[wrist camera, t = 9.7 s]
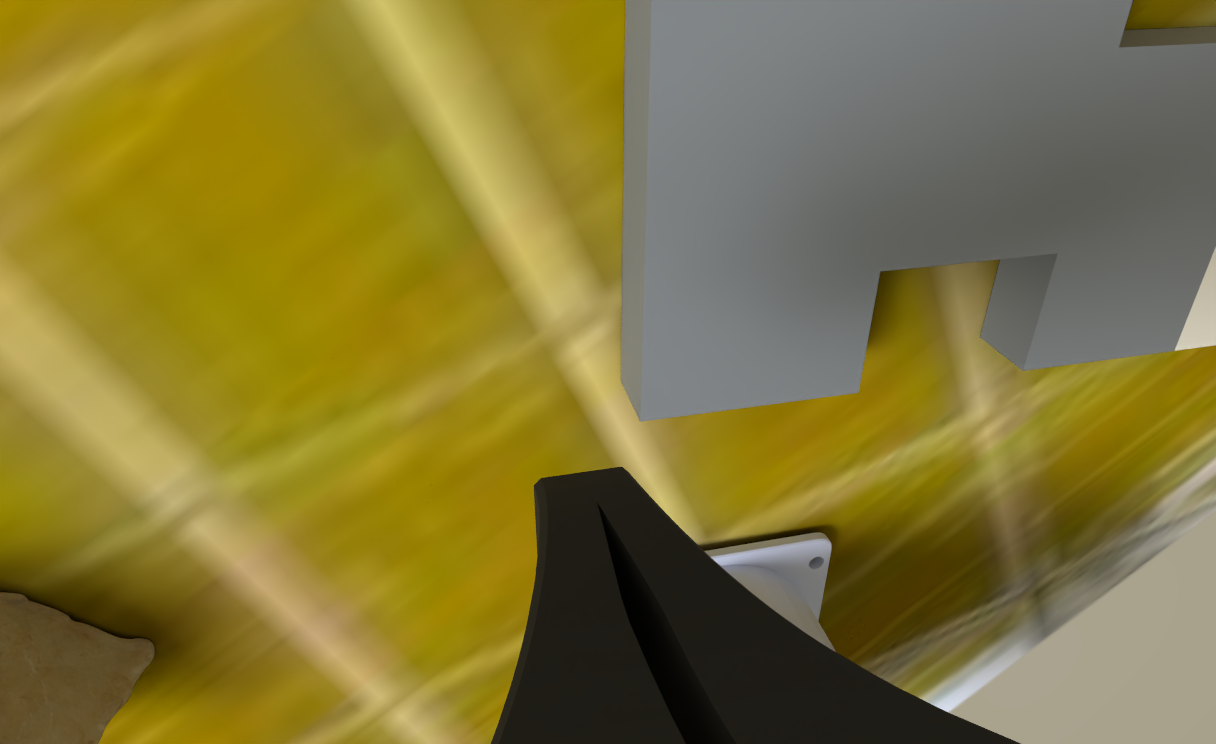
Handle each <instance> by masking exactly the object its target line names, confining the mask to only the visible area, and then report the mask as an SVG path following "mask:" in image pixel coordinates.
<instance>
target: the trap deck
mask: <svg viewBox="0 0 1216 744" xmlns="http://www.w3.org/2000/svg"><path fill="white" fill-rule="evenodd" d="M1132 1H1133V0H626V9H625V90H624V171H623V252H622V333H621V382H622V384H623V386H624V389H625V391H626V393H627V395H628V397H629V399H630V401H631V403H632V405H633V407H634V409H635V412H636V414H637V416H638V418H639V420H640V422H641V421H648V420H656V419H663V418H671V417H679V416H686V415H694V414H701V413H709V412H716V411H724V410H731V409H739V408H746V407H754V406H761V405H769V404H777V403H784V402H792V401H799V400H807V399H814V398H822V397H829V396H837V395H844V394H852V393H858V392H859V386H860V381H861V375H862V370H863V365H864V359H865V354H866V348H867V343H868V337H869V332H870V326H871V321H872V315H873V310H874V304H875V299H876V293H877V288H878V282H879V277H880V272H881V271H891V270H901V269H910V268H920V267H930V266H940V265H950V264H959V263H969V262H979V261H989V260H999V259H1000V262H999V266H998V270H997V274H996V278H995V282H994V285H993V289H992V293H991V297H990V301H989V305H988V309H987V312H986V316H985V320H984V324H983V328H982V332H981V336H980V338H982V339H983V340H984V341H986V342H987V343H988V344H989V345H991V346H992V347H993V348H995V349H996V350H997V351H998V352H1000V353H1001V354H1002V355H1004V356H1005V357H1006V358H1007V359H1009V360H1010V361H1011V362H1013V363H1014V364H1015V365H1016V366H1018V367H1019V368H1020V369H1021V370H1023V371H1025V370H1033V369H1040V368H1048V367H1055V366H1063V365H1070V364H1078V363H1085V362H1093V361H1101V360H1108V359H1116V358H1123V357H1131V356H1138V355H1146V354H1153V353H1161V352H1168V351H1176V350H1183V349H1191V348H1199V347H1206V346H1214V345H1216V26H1210V27H1186V28H1163V29H1139V30H1124V28H1125V25H1126V22H1127V18H1128V15H1129V11H1130V8H1131V5H1132Z"/></svg>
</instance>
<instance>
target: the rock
mask: <svg viewBox="0 0 1216 744" xmlns="http://www.w3.org/2000/svg"><path fill="white" fill-rule="evenodd" d="M154 653H155V649H154V645H153V643H152V642H151V641H150V640H149V639H143V638H136V639H125V638H119V637H116V636H113V635H111V634H108V633H106V632H104V631H102V630H100V629H98V628H95V627H93V626H90V625H88V624H85V623H80V622H76V621H73V620H71V619H70V617H69V616H68V615H66V614H64V613H62V612H60V611H58V610H56V609H53V608H50V607H47V606H45V605H42V604H39V603H35V602H32V601H29V600H28V599H27V598H26V597H25V596H24V595H22V594H17V593H6V592H0V744H98V743H99V741H100V739H101V736H102V734H103V732H104V729H105V727H106V726H107V724H108V723H109V721H110V720H111V719H112V718H113V716H114V715H115V714H116V713H117V712H118V711H119V710H120V709H121V707H122V706H123V705H124V704H125V703H126V702H127V701H128V699H129V697H130V695H131V694H132V691H133V688H134V685H135V682H136V681H137V680H138V678H139V677H140V675H141V674H142V672H143V671H144V669H145V668H146V667H147V666H148V665H149V664H150V663H151V661H152V659H153V658H154Z"/></svg>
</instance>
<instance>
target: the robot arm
mask: <svg viewBox="0 0 1216 744" xmlns="http://www.w3.org/2000/svg"><path fill="white" fill-rule="evenodd" d="M534 498H535V517H536V535H537V554H538V558H537V567H536V577H535V584H534V590H533V595H532V600H531V605H530V611H529V616H528V621H527V626H526V631H525V635H524V639H523V643H522V647H521V651H520V655H519V659H518V662H517V666H516V669H515V673H514V677H513V680H512V683H511V687H510V690H509V693H508V696H507V699H506V702H505V705H504V708H503V711H502V714H501V717H500V720H499V723H498V726H497V728H496V731H495V734H494V737H493V739H492V742H491V744H1020V743H1018V742H1016V741H1013V740H1011V739H1009V738H1006V737H1004V736H1002V735H999V734H997V733H994V732H992V731H990V730H987V729H985V728H983V727H981V726H978V725H976V724H974V723H971V722H969V721H966V720H964V719H962V718H959V717H957V716H955V715H952V714H950V713H948V712H946V711H944V710H942V709H940V708H937V707H935V706H933V705H931V704H929V703H927V702H925V701H924V700H922V699H920V698H918V697H916V696H914V695H912V694H910V693H908V692H906V691H904V690H902V689H900V688H898V687H896V686H894V685H892V684H890V683H888V682H887V681H885V680H883V679H881V678H879V677H877V676H876V675H874V674H872V673H870V672H869V671H867V670H865V669H864V668H862V667H860V666H858V665H857V664H855V663H853V662H852V661H850V660H848V659H847V658H845V657H843V656H842V655H840V654H838V653H837V652H836V651H835V649H834V647H833V646H832V644H831V642H830V640H829V639H828V637H827V635H826V634H825V632H824V630H823V629H822V627H821V625H820V623H819V622H818V621H819V615H820V610H821V604H822V599H823V594H824V588H825V583H826V577H827V572H828V566H829V561H830V556H831V550H832V543H831V542H830V541H829V539H828V538H827V536H826V535H825V534H823V533H810V534H804V535H798V536H792V537H786V538H780V539H774V540H768V541H762V542H756V543H750V544H744V545H738V546H732V547H726V548H720V549H714V550H708V551H704V550H703V549H702V548H700V547H699V546H698V545H697V544H696V543H695V542H694V541H693V540H692V539H691V538H690V537H689V536H688V535H687V534H686V533H685V532H684V531H683V530H682V529H681V528H680V527H679V526H678V525H677V524H676V523H675V522H674V521H673V520H672V519H671V518H670V517H669V516H668V515H667V514H666V513H665V512H664V511H663V510H662V509H661V508H660V507H659V506H658V505H657V503H656V502H655V501H654V500H653V499H652V498H651V497H650V496H649V495H648V494H647V493H646V491H645V490H644V489H643V488H642V487H641V486H640V485H639V484H638V482H637V481H636V480H635V479H634V478H633V477H632V476H631V475H630V473H629V472H628V471H626V470H625V469H624V468H623V467H616V468H609V469H602V470H595V471H588V472H581V473H574V474H567V475H560V476H553V477H546V478H541V479H540V480H539V481H538V482H537V483H536V484H535V485H534ZM815 557H816V558H815ZM813 558H815V559H813ZM812 559H813V560H812Z"/></svg>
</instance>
